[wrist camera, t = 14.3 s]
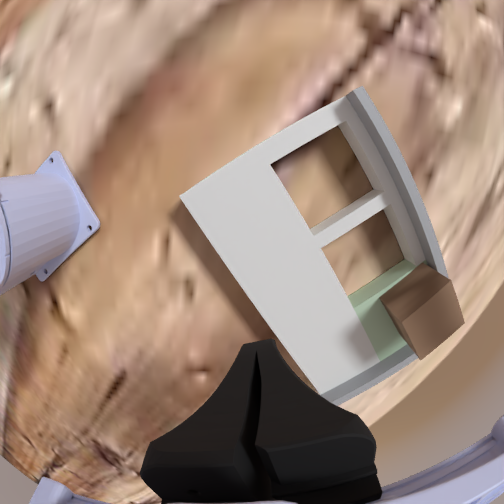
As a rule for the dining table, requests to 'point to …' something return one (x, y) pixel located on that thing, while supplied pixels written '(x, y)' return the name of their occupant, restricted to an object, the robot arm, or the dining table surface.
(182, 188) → the dining table surface
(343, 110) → the board
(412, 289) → the walnut block
